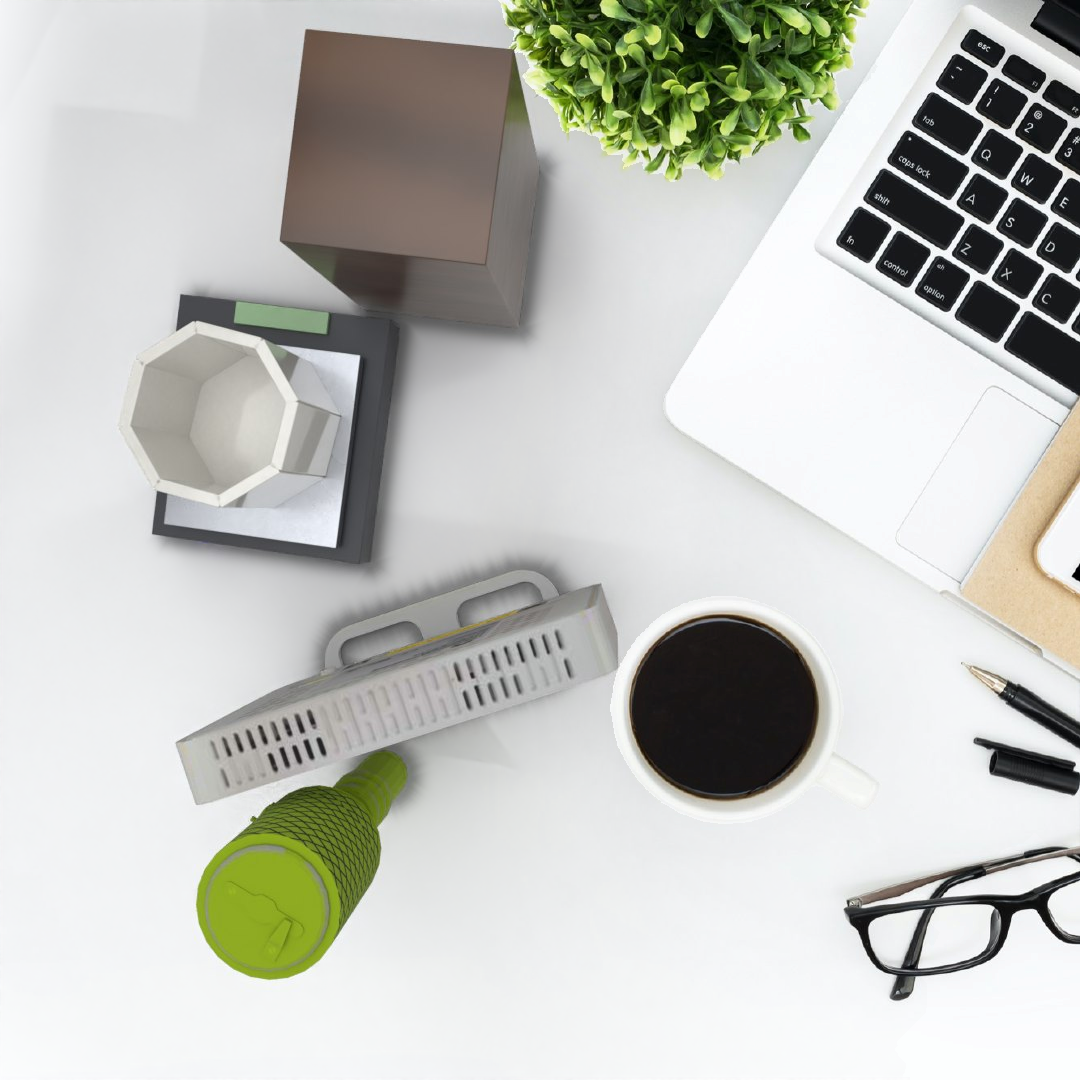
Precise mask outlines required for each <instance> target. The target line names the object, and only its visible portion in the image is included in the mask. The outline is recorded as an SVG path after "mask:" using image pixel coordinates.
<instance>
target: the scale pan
mask: <svg viewBox="0 0 1080 1080" xmlns="http://www.w3.org/2000/svg"><path fill="white" fill-rule="evenodd" d="M275 345H276V344H275ZM277 346H279V347H281V348H283V349H285V350H287V351H289V352H291V353H293V354H295V355H297V356H299V357H301V358H303V359H305V360H307V361H309V362H310V363H311V364H312V366H313V368H314V369H315V371H316V373H317V375H318V376H319V378H320V380H321V382H322V383H323V385H324V387H325V389H326V390H327V392H328V394H329V396H330V397H331V399H332V401H333V403H334V404H335V406H336V408H337V410H338V411H339V413H340V416H339V417H340V422H339V425H338V429H337V433H336V437H335V441H334V445H333V449H332V453H331V457H330V461H329V464H328V468H327V472H326V476H323V477H324V479H322V480H320V481H318V482H317V483H315V484H313V485H312V486H310V487H308V488H307V489H305V490H303V491H302V492H300V493H298V494H297V495H295V496H293V497H292V498H290V499H288V500H287V501H285V502H283V503H281V504H280V505H278V506H276V507H275V508H218V507H214V506H210V505H207V504H203V503H200V502H196V501H192V500H189V499H185V498H182V497H178V496H174V495H171V494H167V502H166V510H165V519H164V524H167V525H174V526H181V527H188V528H195V529H202V530H209V531H216V532H223V533H230V534H237V535H244V536H252V537H259V538H266V539H273V540H280V541H287V542H294V543H301V544H308V545H315V546H322V547H329V548H340V542H341V534H342V527H343V519H344V511H345V503H346V495H347V487H348V479H349V471H350V464H351V456H352V448H353V440H354V432H355V424H356V416H357V408H358V401H359V393H360V385H361V377H362V369H363V361H364V357H362V356H361V355H355V354H347V353H339V352H331V351H323V350H316V349H308V348H300V347H292V346H284V345H277Z"/></svg>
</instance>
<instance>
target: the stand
mask: <svg viewBox="0 0 1080 1080" xmlns="http://www.w3.org/2000/svg"><path fill="white" fill-rule="evenodd" d="M299 69H300V71H299V77H298V78H299V79H298V85H297V95H296V101H295V102H296V103H295V112H294V119H293V128H292V136H291V143H290V151H289V160H288V167H287V177H286V185H285V194H284V199H283V209H282V216H281V217H282V218H281V225H280V226H281V227H280V231H279V233H280V234H279V242H281V244H282V245H284V246H285V247H286V248H287V249H288V250H290V251H291V252H293V253H294V254H295V255H296V256H297V257H298V258H300V259H301V260H302V261H304V263H306V264H307V265H309V266H310V268H313V270H314V271H315V272H317V273H318V274H320V276H321V277H323V278H324V279H326V280H327V281H328V282H329V283H330V284H332V285H333V286H334V287H335V288H336V289H338V290H339V291H340V292H341V293H343V294H344V295H345V296H346V297H347V298H349V299H350V300H352V301H353V302H354V303H355V304H356V305H357V306H358V307H360V308H361V309H362V310H364V311H370V312H380V313H386V314H387V313H388V314H395V315H405V316H413V317H422V318H427V319H436V320H437V319H438V320H445V321H452V322H453V321H454V322H462V323H470V324H476V325H477V324H479V325H484V326H485V325H486V326H495V327H503V328H511V329H519V328H520V321H521V314H522V307H523V298H524V292H525V283H526V275H527V269H528V268H527V267H528V260H529V254H530V253H529V252H530V246H531V238H532V230H533V222H534V216H535V210H536V209H535V208H536V201H537V200H536V199H537V193H538V187H539V186H538V185H539V180H540V179H539V178H540V171H541V168H540V164H539V160H538V154H537V150H536V146H535V141H534V136H533V132H532V126H531V121H530V117H529V112H528V109H527V108H528V107H527V104H526V103H527V102H526V99H525V98H526V97H525V94H524V89H523V85H522V80H521V75H520V71H519V65H518V62H517V57H516V52H515V49H513V48H504V47H503V48H502V47H494V46H483V45H473V44H464V43H463V44H462V43H454V42H443V41H442V42H441V41H433V40H423V39H413V38H402V37H394V36H393V37H392V36H384V35H383V36H381V35H373V34H364V33H363V34H362V33H351V32H342V31H332V30H331V31H330V30H321V29H312V28H311V29H310V28H306V29H305V30H304V38H303V46H302V53H301V63H300V68H299Z"/></svg>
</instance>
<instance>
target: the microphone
mask: <svg viewBox="0 0 1080 1080" xmlns="http://www.w3.org/2000/svg"><path fill="white" fill-rule="evenodd" d="M405 764H406V763H405V762H404V760H403V759H402V758H401V757H400V756H399V755H398V754H397V753H395V752H393V751H389V750H377V751H375V752H373V753H371V754H369V755H367V757H366V758H365V759H364V760H363V761H362V762H360V764H359V765H358V766H357V767H356V768H355V769H354V770H351V771H349V772H347V773H345V774H343V775H342V776H341V777H340V778H339V780H337V781H336V783H335V784H334V785H333V786H327V785H321V784H320V785H319V784H317V785H309V786H303V787H300V788H297V789H295V790H293V791H291V792H288V793H286V794H285V795H283V796H282V797H281V798H279V800H277V801H276V802H274V801H273V802H272V803H270V804H268V805H267V806H266V807H264V809H263V810H262V811H261V813H260V814H259V815H258V817H256V816H254V815H253V816H251V818H250V820H249V821H250V822H251V823H250V824H249V825H248V826H247V827H245V828H244V829H243V830H242V831H240V832H239V833H238V834H237V835H236V836H234V838H233V839H231V840H230V841H229V842H228V843H227V844H225V845H224V847H222V848H221V849H220V850H219V851H217V852H216V853H215V854H214V856H213V857H212V858H211V860H210V861H209V862H208V864H206V866H205V868H204V870H203V872H202V875H201V878H200V879H199V883H198V884H197V885H198V886H197V892H196V901H195V909H196V913H197V921H198V925H199V928H200V930H201V933H202V935H203V938H204V940H205V942H206V943H207V945H208V946H209V947H210V949H211V950H212V952H213V953H214V954H215V955H216V957H217V958H218V959H219V960H221V961H222V962H223V963H224V964H226V965H227V966H229V968H231V969H232V970H234V971H237V972H239V973H241V974H243V975H246V976H247V977H250V978H254V979H261V980H266V981H273V980H281V979H282V980H283V979H289V978H292V977H294V976H297V975H299V974H302V973H304V972H307V970H309V969H310V968H312V967H313V966H314V965H315V964H317V963H318V962H319V961H321V959H322V958H323V957H324V956H325V954H326V953H327V952H328V950H329V949H330V948H331V947H332V945H333V943H334V942H335V941H336V939H337V937H338V935H340V933H341V931H342V929H343V928H344V927H345V925H346V923H347V922H348V920H349V918H350V917H351V916H352V915H353V913H354V911H355V910H356V908H357V906H358V905H359V903H360V902H361V900H362V899H363V897H364V896H365V894H366V893H367V891H368V890H369V888H370V887H371V885H372V883H373V882H374V879H375V877H376V874H377V871H378V870H379V866H380V862H381V855H382V843H381V836H380V831H379V829H378V827H379V826H380V825H381V824H382V823H383V821H384V820H385V819H386V818H387V817H388V815H389V813H390V809H391V806H392V803H393V802H394V801H395V800H396V798H397V797H398V796H399V794H400V793H401V792H402V790H403V788H404V787H406V786H405V785H406V782H407V779H408V770H407V769H408V768H407V766H406V765H405Z"/></svg>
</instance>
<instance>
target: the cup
mask: <svg viewBox="0 0 1080 1080" xmlns="http://www.w3.org/2000/svg"><path fill="white" fill-rule="evenodd" d="M129 375H130V376H129V378H128V384H127V388H126V392H125V396H124V399H123V403H122V408H121V412H120V416H119V420H118V431H119V432H120V434H121V436H122V437H123V440H124V441H125V443H126V445H127V446H128V448H129V450H130V452H131V454H132V455H133V457H134V459H135V460H136V462H137V464H138V466H139V467H140V469H141V471H142V473H143V475H144V476H145V478H146V480H147V482H148V484H149V486H150V487H151V488H152V489H154V491H156V492H157V491H160V492H164V493H167V494H171V495H174V496H178V497H182V498H185V499H189V500H192V501H196V502H200V503H203V504H207V505H210V506H214V507H218V508H275V507H276V506H278V505H280V504H281V503H283V502H285V501H287V500H288V499H290V498H292V497H293V496H295V495H297V494H298V493H300V492H302V491H303V490H305V489H307V488H308V487H310V486H312V485H313V484H315V483H317V482H318V481H320V480H322V479H324V477H323V476H326V472H327V468H328V464H329V461H330V457H331V453H332V449H333V445H334V441H335V437H336V433H337V429H338V425H339V422H340V417H339V416H340V413H339V411H338V410H337V408H336V406H335V404H334V403H333V401H332V399H331V397H330V396H329V394H328V392H327V390H326V389H325V387H324V385H323V383H322V382H321V380H320V378H319V376H318V375H317V373H316V371H315V369H314V368H313V366H312V364H311V363H310V362H309V361H307V360H305V359H303V358H301V357H299V356H297V355H295V354H293V353H291V352H289V351H287V350H285V349H283V348H281V347H279V346H277V345H275V344H273V343H271V342H269V341H267V340H265V339H263V338H261V337H257V336H254V335H250V334H246V333H242V332H238V331H235V330H231V329H227V328H223V327H219V326H216V325H212V324H208V323H204V322H200V321H196V322H194V321H193V322H191V323H190V324H188V325H186V326H185V327H183V328H181V329H180V330H178V331H177V332H176V331H175V332H173V333H171V334H169V335H168V336H167V337H165V338H163V339H162V340H160V341H159V342H157V343H156V344H154V345H152V346H151V347H149V348H147V349H146V350H144V351H143V352H141V353H139V354H137V355H136V358H134V360H133V363H132V367H131V371H130V374H129Z"/></svg>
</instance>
